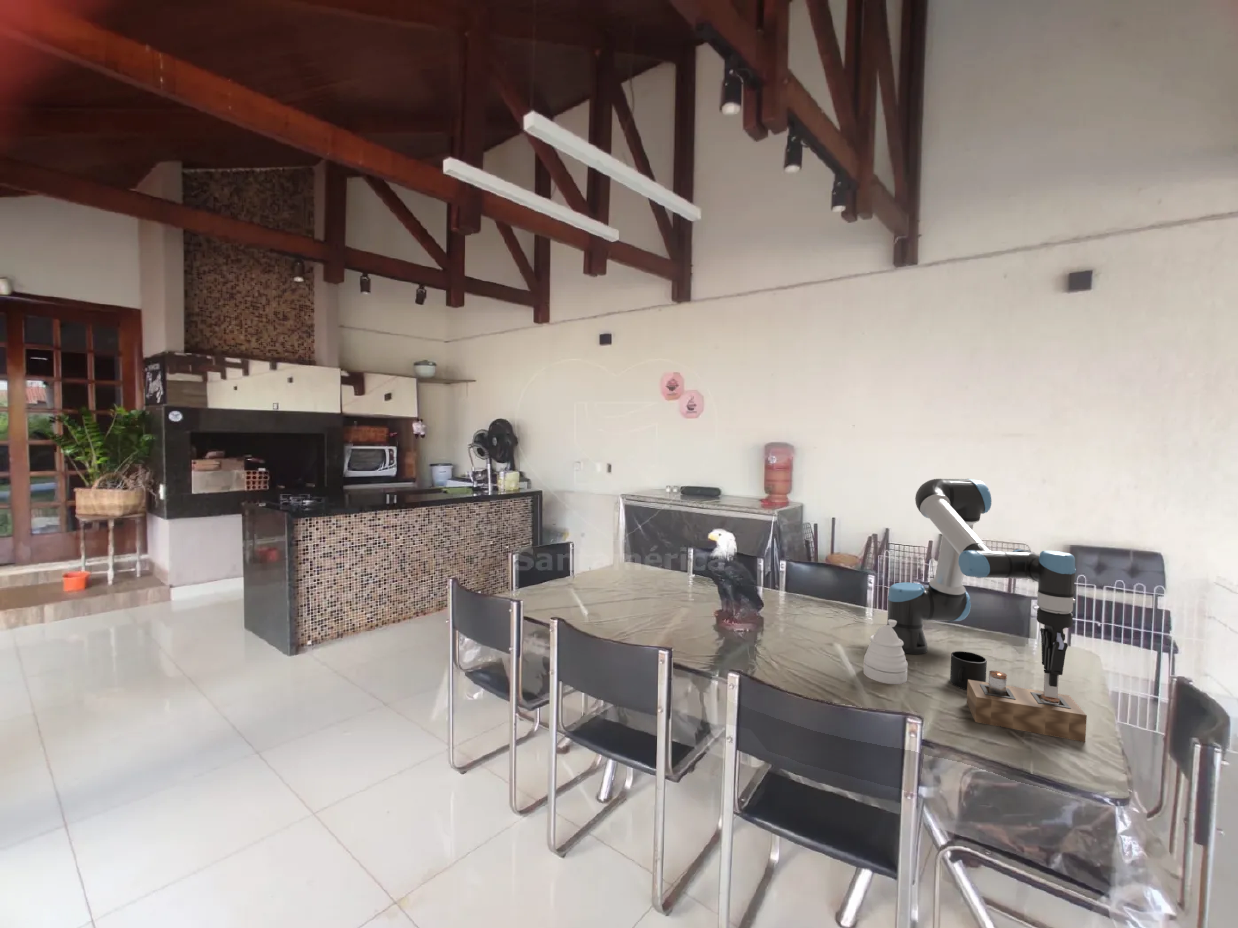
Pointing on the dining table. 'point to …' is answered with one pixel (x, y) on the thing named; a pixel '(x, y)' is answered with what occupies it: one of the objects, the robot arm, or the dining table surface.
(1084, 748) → the dining table surface
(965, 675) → the mug
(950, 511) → the robot arm
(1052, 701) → the peg
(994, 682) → the peg
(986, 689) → the socket block
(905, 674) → the honey pot
